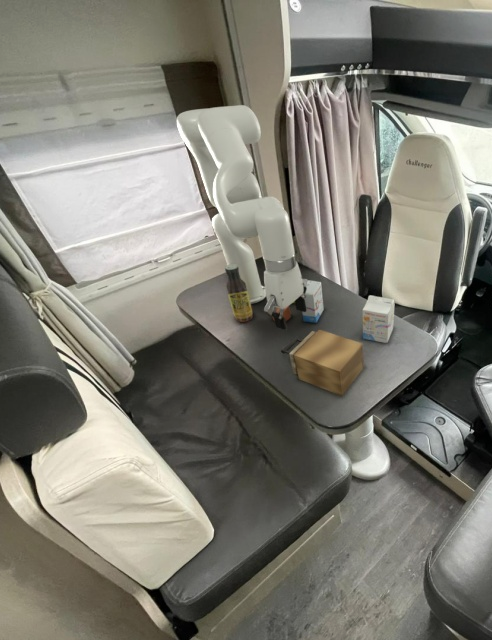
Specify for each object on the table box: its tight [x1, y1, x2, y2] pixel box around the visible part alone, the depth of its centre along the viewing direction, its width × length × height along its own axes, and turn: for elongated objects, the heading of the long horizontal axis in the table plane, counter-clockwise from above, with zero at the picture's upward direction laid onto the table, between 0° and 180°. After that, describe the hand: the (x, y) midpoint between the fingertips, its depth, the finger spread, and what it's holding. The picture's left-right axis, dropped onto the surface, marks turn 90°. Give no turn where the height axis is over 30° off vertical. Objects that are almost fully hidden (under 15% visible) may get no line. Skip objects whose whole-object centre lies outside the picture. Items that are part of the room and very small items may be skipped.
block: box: [272, 306, 292, 323], centre depth 126 cm, size 4×4×4 cm
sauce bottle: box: [224, 264, 254, 323], centre depth 121 cm, size 7×6×20 cm
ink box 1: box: [301, 279, 325, 324], centre depth 125 cm, size 9×5×12 cm, turn 168°
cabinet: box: [294, 329, 364, 397], centre depth 104 cm, size 15×13×10 cm
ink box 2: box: [362, 294, 396, 344], centre depth 117 cm, size 9×8×13 cm
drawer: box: [280, 330, 317, 375], centre depth 106 cm, size 19×11×8 cm, turn 64°
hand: (291, 318), depth 100 cm, fingers open, 8 cm apart
